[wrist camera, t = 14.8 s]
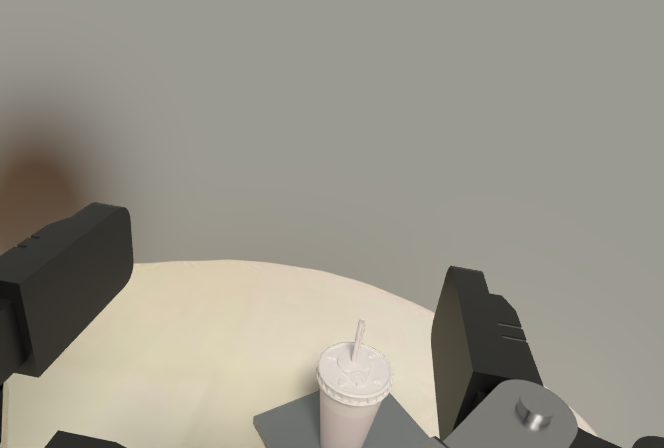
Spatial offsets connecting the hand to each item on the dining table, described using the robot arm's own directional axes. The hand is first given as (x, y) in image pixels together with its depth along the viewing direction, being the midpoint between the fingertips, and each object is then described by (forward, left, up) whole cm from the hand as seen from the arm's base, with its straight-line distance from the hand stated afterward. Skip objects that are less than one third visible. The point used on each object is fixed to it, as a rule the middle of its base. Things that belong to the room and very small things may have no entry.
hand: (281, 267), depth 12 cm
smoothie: (-13, +15, -31) cm, 37 cm away
